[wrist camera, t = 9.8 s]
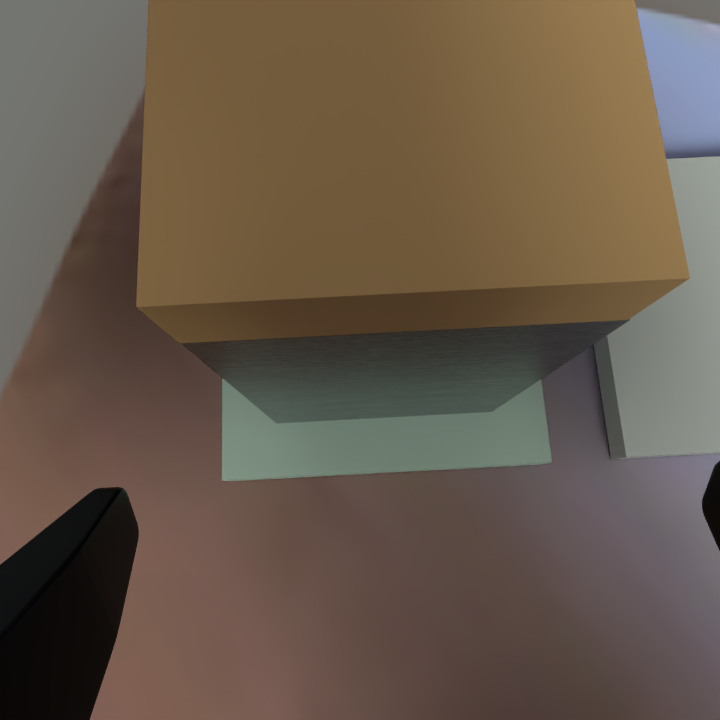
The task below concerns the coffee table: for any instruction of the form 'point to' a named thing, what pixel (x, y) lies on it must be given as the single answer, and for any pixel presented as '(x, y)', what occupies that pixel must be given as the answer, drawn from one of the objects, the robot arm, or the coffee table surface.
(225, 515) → the coffee table surface
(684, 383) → the stand
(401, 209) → the cover
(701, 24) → the coffee table surface
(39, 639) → the robot arm
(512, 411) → the stand
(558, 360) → the base
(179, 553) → the coffee table surface
